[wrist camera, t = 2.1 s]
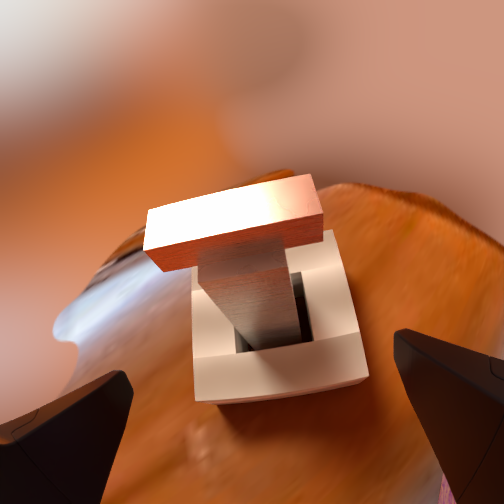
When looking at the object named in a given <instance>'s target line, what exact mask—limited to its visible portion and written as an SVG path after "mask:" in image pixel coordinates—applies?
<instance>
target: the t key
mask: <svg viewBox="0 0 504 504" xmlns="http://www.w3.org/2000/svg"><path fill="white" fill-rule="evenodd" d="M319 242H323V211H322V208H321V205H320V202H319V199H318V196H317V193H316V189H315V187H314V183H313V180H312V178H311V175H310V174H307V175H301V176H295V177H290V178H285V179H280V180H275V181H270V182H265V183H260V184H255V185H250V186H246V187H241V188H237V189H232V190H228V191H223V192H219V193H215V194H210V195H206V196H202V197H198V198H194V199H190V200H186V201H182V202H179V203H174V204H170V205H167V206H163V207H159V208H155V209H152V210H149V214H148V220H147V227H146V234H145V242H144V251H145V253H146V254H147V255H148V256H149V257H150V258H151V259H152V260H153V261H154V263H155V264H156V265H157V266H158V267H159V268H160V269H161V270H162V271H163V272H168V271H173V270H178V269H184V268H189V267H194V266H198V284H199V285H200V286H201V287H202V289H203V290H204V291H205V292H206V294H207V295H208V296H209V297H210V298H211V300H212V301H213V302H214V303H215V305H216V306H217V307H218V308H219V309H220V310H221V312H222V313H223V314H224V315H225V316H226V318H227V319H228V320H229V321H230V322H231V323H232V325H233V326H234V327H235V328H236V329H237V330H238V332H239V333H240V334H241V335H242V336H243V337H244V339H245V340H246V341H247V342H248V343H249V344H250V345H251V347H252V348H253V349H254V350H255V351H259V350H265V349H272V348H278V347H284V346H290V345H296V344H301V343H302V337H301V331H300V325H299V319H298V313H297V307H296V302H295V296H294V291H293V286H292V281H291V276H290V270H289V265H288V260H287V255H286V250H285V249H288V248H293V247H298V246H303V245H308V244H313V243H319Z"/></svg>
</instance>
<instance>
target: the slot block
mask: <svg viewBox="0 0 504 504" xmlns="http://www.w3.org/2000/svg"><path fill="white" fill-rule="evenodd" d="M285 250H286V255H287V260H288V265H289V270H290V276H291V281H292V286H293V291H294V296H295V298H296V297H302V296H304V299H305V304H306V309H307V315H308V320H309V326H310V331H311V337H312V342H307V343H301V344H296V345H290V346H284V347H278V348H272V349H265V350H259V351H252V352H249V351H248V342H247V341H246V340H245V339H244V337H243V336H242V335H241V334H240V333H239V332H238V330H237V329H236V328H235V327H234V326H233V325H232V323H231V322H230V321H229V320H228V319H227V318H226V316H225V315H224V314H223V313H222V312H221V310H220V309H219V308H218V307H217V306H216V305H215V303H214V302H213V301H212V300H211V298H210V297H209V296H208V295H207V294H206V292H205V291H204V290H203V289H202V287H201V286H200V285H199V284H198V266H194V267H192V340H193V367H194V387H195V401H197V402H203V403H208V404H214V405H221V404H234V403H245V402H255V401H264V400H272V399H279V398H286V397H293V396H299V395H305V394H311V393H316V392H322V391H327V390H332V389H337V388H341V387H346V386H350V385H355V384H359V383H360V382H362V381H363V380H364V379H366V378H367V377H368V376H369V373H368V367H367V363H366V358H365V353H364V348H363V344H362V339H361V335H360V330H359V326H358V322H357V318H356V314H355V309H354V305H353V301H352V298H351V294H350V290H349V286H348V282H347V279H346V275H345V271H344V268H343V264H342V261H341V257H340V254H339V250H338V247H337V243H336V240H335V237H334V234H333V230H327V231H323V242H319V243H313V244H308V245H303V246H298V247H293V248H288V249H285Z"/></svg>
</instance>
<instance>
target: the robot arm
mask: <svg viewBox="0 0 504 504" xmlns="http://www.w3.org/2000/svg"><path fill="white" fill-rule="evenodd" d="M394 360H395V363H396V365H397V368H398V371H399V373H400V376H401V379H402V382H403V384H404V387H405V390H406V393H407V395H408V398H409V400H410V402H411V404H412V406H413V408H414V410H415V412H416V414H417V416H418V418H419V420H420V422H421V425H422V427H423V429H424V431H425V433H426V435H427V437H428V439H429V441H430V444H431V446H432V448H433V450H434V452H435V455H436V457H437V459H438V461H439V464H440V466H441V468H442V470H443V473H444V475H445V478H446V480H447V482H448V485H449V487H450V490H451V492H452V494H453V497H454V500H455V502H456V503H457V504H504V360H501V359H498V358H495V357H491V356H490V357H489V356H488V355H485V354H482V353H479V352H476V351H473V350H470V349H467V348H464V347H461V346H458V345H455V344H452V343H449V342H446V341H443V340H440V339H437V338H434V337H431V336H428V335H425V334H422V333H419V332H416V331H413V330H410V329H407V328H405V329H402V330H398V331H396V332H395V333H394ZM133 395H134V392H133V388H132V386H131V384H130V382H129V380H128V378H127V375H126V374H125V372H124V371H122V370H113V371H111V372H109V373H107V374H105V375H103V376H101V377H99V378H97V379H95V380H94V381H92V382H90V383H88V384H86V385H84V386H82V387H80V388H78V389H76V390H74V391H72V392H70V393H68V394H66V395H64V396H62V397H60V398H58V399H56V400H54V401H52V402H50V403H48V404H46V405H44V406H42V407H40V409H39V408H38V409H36V410H34V411H32V412H30V413H28V414H25V415H23V416H21V417H19V418H16V419H14V420H11V421H9V422H7V423H4V424H1V425H0V504H100V502H101V499H102V496H103V493H104V490H105V486H106V483H107V480H108V477H109V474H110V471H111V468H112V465H113V462H114V459H115V456H116V453H117V450H118V447H119V445H120V442H121V439H122V436H123V433H124V430H125V427H126V423H127V419H128V415H129V411H130V407H131V403H132V399H133Z"/></svg>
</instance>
